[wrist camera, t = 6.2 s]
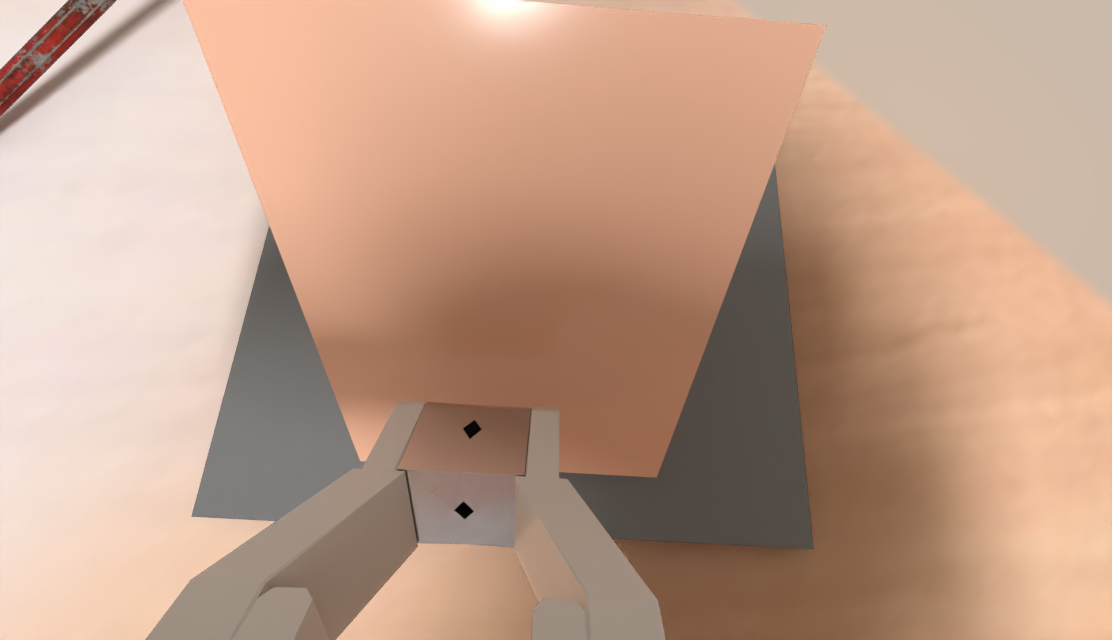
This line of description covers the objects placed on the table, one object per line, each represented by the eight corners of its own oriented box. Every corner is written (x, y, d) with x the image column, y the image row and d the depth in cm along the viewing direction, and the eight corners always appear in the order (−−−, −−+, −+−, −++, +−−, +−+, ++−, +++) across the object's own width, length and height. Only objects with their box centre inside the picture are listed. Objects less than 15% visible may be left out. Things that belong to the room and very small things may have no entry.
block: (643, 409, 13) (755, 21, 7) (656, 477, 11) (827, 24, 5) (390, 394, 13) (283, -17, 7) (360, 461, 11) (172, -27, 5)
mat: (762, 111, 17) (768, 102, 16) (802, 544, 12) (813, 548, 12) (318, 78, 16) (311, 67, 16) (205, 513, 12) (191, 516, 12)
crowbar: (315, -101, 19) (228, -266, 15) (350, -78, 19) (273, -237, 14) (-101, 324, 17) (-376, 300, 12) (-68, 358, 17) (-336, 348, 12)
